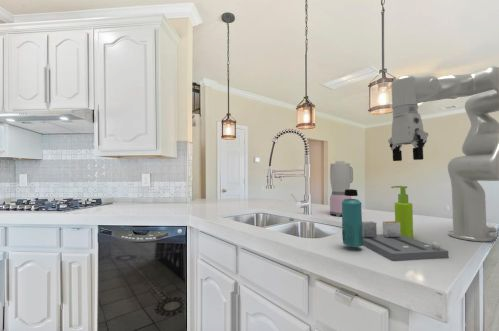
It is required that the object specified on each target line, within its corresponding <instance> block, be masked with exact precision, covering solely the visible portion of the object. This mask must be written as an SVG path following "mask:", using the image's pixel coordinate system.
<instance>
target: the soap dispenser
mask: <svg viewBox="0 0 499 331" xmlns="http://www.w3.org/2000/svg"><path fill="white" fill-rule="evenodd" d="M390 188H392V189H394V188H395V189H397V188H399V189H400V193H399V194H397V200H398V202H394V221H398V222H400V233H401V235H404V236H407V237H410V238H413V239H414V218H413V212H414V211H413V203H411V202H409V195H408V194H407V192H406V189H408V186H407V185H406V186H405V185H394V186H391V187H390Z"/></svg>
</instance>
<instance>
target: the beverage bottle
mask: <svg viewBox="0 0 499 331" xmlns="http://www.w3.org/2000/svg"><path fill="white" fill-rule="evenodd" d="M345 196H351V197H358V196H359V195H358V190H357V189H354V188H349V189H347V190H345ZM362 222H363V214H362V202H361V201H360V200H359V199H357V198H352V199H344V200H343V201H342V215H341V225H342V227H341V228H342V229H341V235H342V237H341V239H342V244H343V245H345V246H348V247H354V248H359V247H362V246H363V245H362V244H363V236H362V230H363V223H362Z"/></svg>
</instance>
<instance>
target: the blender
mask: <svg viewBox="0 0 499 331" xmlns="http://www.w3.org/2000/svg"><path fill="white" fill-rule="evenodd" d="M329 176H330V177H329V180H330V185H331V186H330V187H331V194H330V196H329V214H330V216H332V215H335V216H336V217H338V218H340V217H341V216H342V201H343V200H344V199H353V198H352V196H345V190H347V189H351V188H350V187H351V184H352V183H353V182H354V169H353V168H352V166H351V164H350V163H348V162H346V163H345V161H344V160H343V161H342V160H340V161H339V160H338V161H337V160H335V162H334V163H330V166H329Z"/></svg>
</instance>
